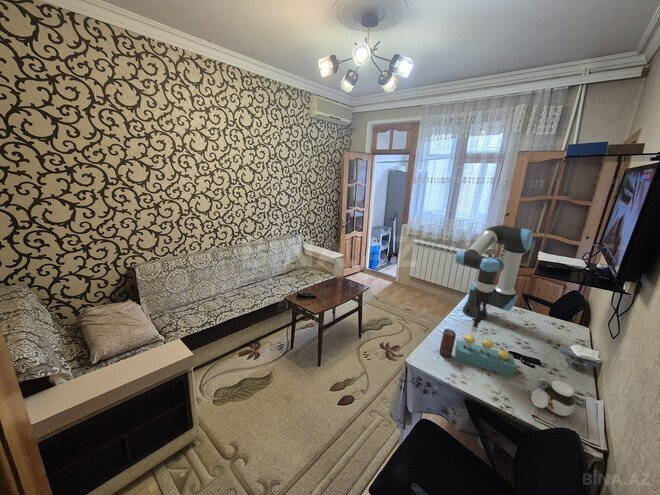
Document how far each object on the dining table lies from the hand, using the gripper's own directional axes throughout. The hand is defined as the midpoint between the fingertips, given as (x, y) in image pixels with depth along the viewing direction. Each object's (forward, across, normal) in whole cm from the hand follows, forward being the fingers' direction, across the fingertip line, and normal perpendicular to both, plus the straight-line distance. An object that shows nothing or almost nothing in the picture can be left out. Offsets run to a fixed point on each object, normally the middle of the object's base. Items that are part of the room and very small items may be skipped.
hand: (473, 331), depth 137 cm
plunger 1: (+11, 0, -1) cm, 11 cm away
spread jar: (+17, +19, +31) cm, 40 cm away
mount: (+16, 0, +7) cm, 18 cm away
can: (+17, +3, -11) cm, 20 cm away
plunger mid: (+11, 0, +7) cm, 13 cm away
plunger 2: (+15, 0, +15) cm, 21 cm away
